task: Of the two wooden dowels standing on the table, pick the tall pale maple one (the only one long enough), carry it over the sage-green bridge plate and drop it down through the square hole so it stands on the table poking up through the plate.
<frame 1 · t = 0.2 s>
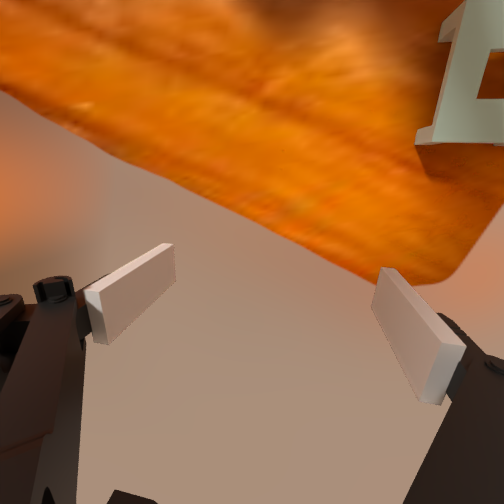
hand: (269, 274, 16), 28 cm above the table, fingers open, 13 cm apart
bridge: (477, 87, 32), on the table
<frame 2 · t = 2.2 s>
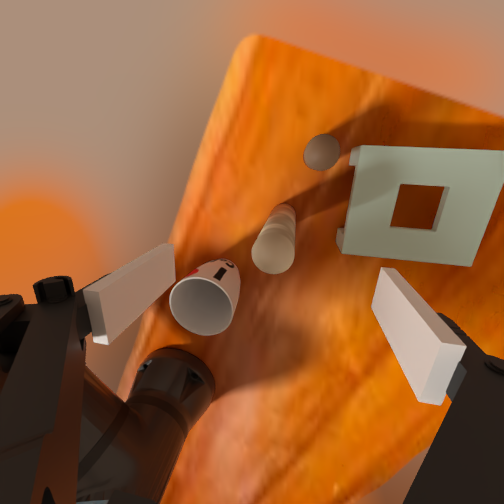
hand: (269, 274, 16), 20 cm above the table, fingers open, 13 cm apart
short pin: (317, 155, 31), on the table
bridge: (400, 201, 31), on the table
long pin: (283, 215, 34), on the table
cup: (224, 273, 39), on the table
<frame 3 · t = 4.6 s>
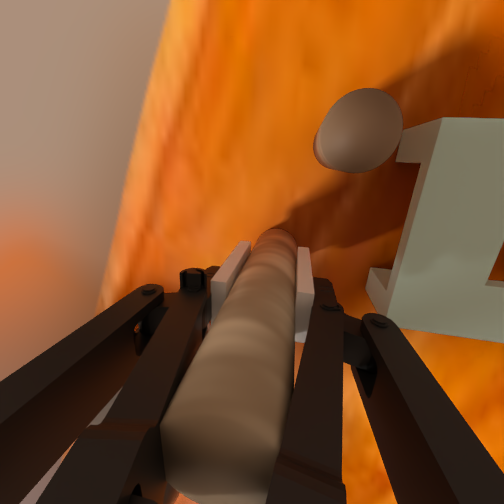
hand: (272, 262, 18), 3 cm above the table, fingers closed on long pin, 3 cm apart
short pin: (338, 144, 17), on the table
bridge: (486, 227, 17), on the table
long pin: (276, 248, 21), on the table, touching gripper
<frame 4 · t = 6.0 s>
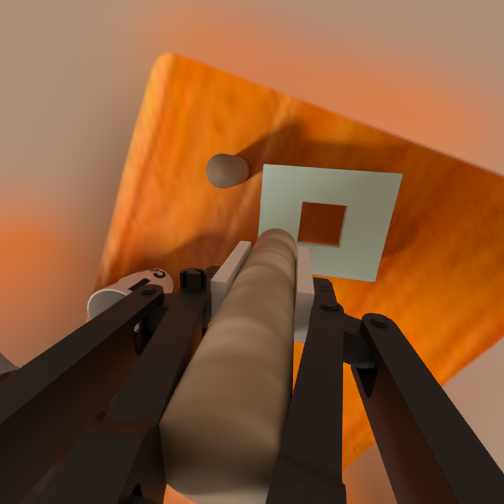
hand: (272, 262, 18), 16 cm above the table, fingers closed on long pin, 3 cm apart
short pin: (237, 170, 32), on the table
bridge: (317, 216, 32), on the table
long pin: (275, 248, 21), point 13 cm above the table, touching gripper
cup: (159, 282, 40), on the table
when the fingers open (7 cm above the table, at t = 7.8 s): long pin drops 3 cm, on the table.
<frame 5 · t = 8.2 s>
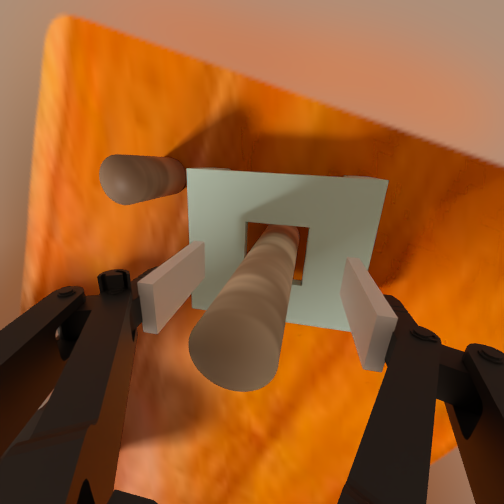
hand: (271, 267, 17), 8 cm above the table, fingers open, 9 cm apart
short pin: (169, 176, 24), on the table
bridge: (279, 236, 24), on the table
long pin: (281, 237, 24), on the table
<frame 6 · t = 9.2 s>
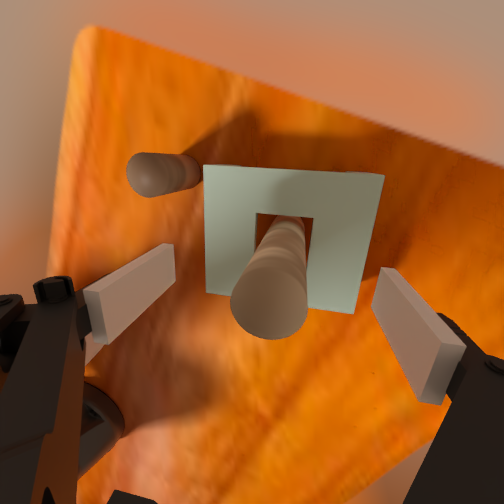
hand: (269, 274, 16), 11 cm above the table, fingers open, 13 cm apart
short pin: (185, 172, 26), on the table
bridge: (285, 228, 26), on the table
long pin: (287, 228, 26), on the table
cup: (111, 302, 34), on the table
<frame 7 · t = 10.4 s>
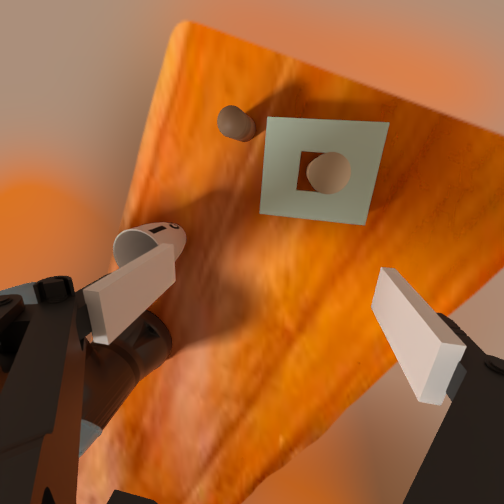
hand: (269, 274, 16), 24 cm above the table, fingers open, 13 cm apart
short pin: (244, 128, 36), on the table
bridge: (316, 171, 36), on the table
long pin: (317, 171, 36), on the table
cup: (173, 236, 44), on the table
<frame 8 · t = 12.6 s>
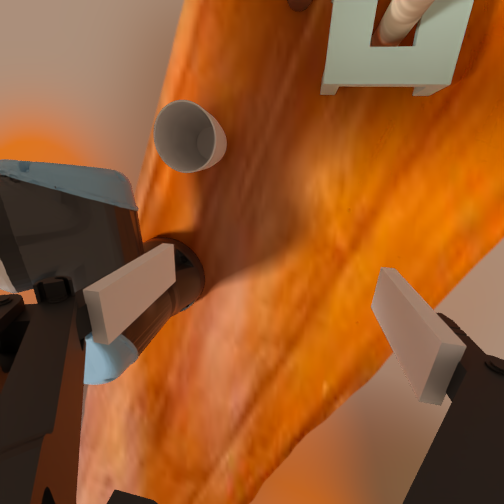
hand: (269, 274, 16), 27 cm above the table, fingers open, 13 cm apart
bridge: (382, 40, 31), on the table
long pin: (385, 40, 31), on the table
cup: (211, 144, 39), on the table
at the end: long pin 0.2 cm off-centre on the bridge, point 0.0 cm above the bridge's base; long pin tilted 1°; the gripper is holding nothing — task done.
